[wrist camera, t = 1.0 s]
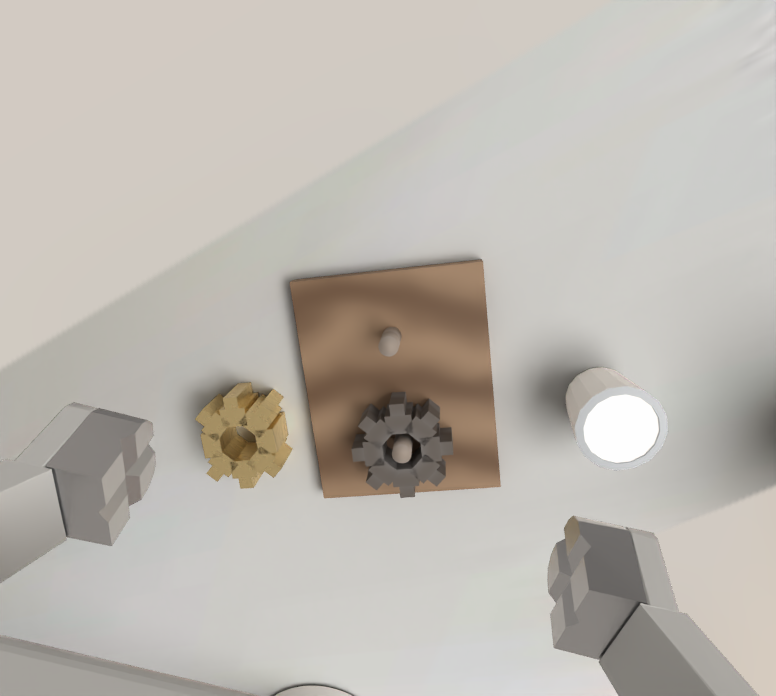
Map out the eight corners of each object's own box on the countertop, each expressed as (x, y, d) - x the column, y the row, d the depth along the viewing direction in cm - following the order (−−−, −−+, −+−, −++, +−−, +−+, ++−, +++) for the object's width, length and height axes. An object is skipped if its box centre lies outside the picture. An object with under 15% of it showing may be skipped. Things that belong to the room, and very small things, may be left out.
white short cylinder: (543, 415, 53) (558, 449, 46) (581, 347, 51) (603, 371, 44) (614, 447, 53) (639, 485, 46) (654, 380, 51) (687, 409, 45)
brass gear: (295, 465, 56) (284, 485, 52) (225, 470, 57) (209, 490, 53) (280, 379, 54) (268, 394, 50) (208, 385, 55) (191, 401, 51)
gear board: (499, 478, 55) (504, 507, 50) (327, 490, 57) (316, 518, 52) (481, 259, 50) (485, 267, 45) (293, 279, 52) (278, 289, 47)
